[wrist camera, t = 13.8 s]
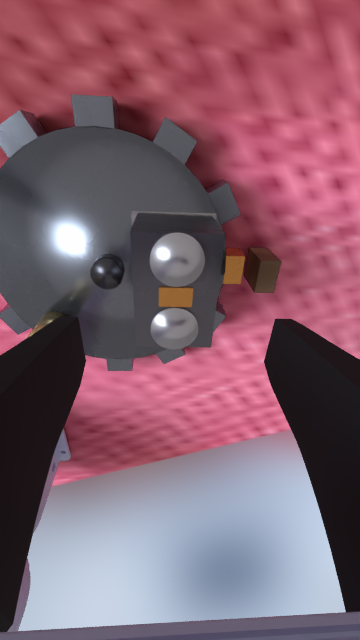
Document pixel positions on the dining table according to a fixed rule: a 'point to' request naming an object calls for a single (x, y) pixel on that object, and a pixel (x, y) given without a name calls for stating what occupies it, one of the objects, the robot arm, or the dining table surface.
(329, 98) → the dining table surface
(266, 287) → the brown rectangular block
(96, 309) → the sprocket
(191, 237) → the gray speaker cabinet
